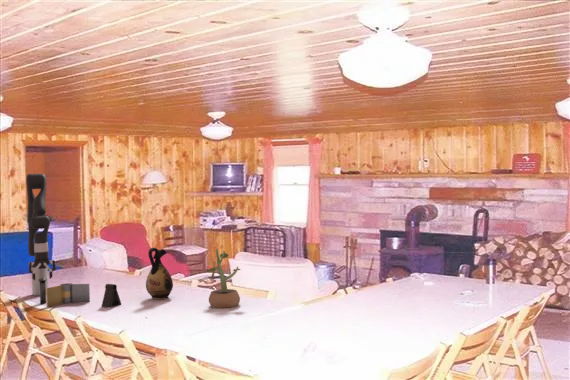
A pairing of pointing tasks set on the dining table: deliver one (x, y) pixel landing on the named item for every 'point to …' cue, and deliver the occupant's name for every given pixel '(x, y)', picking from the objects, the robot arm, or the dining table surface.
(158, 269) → the ceramic jug
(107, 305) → the phone stand
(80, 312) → the dining table surface
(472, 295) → the dining table surface
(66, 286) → the hinge
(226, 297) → the potted plant
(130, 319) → the dining table surface
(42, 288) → the hinge pin
